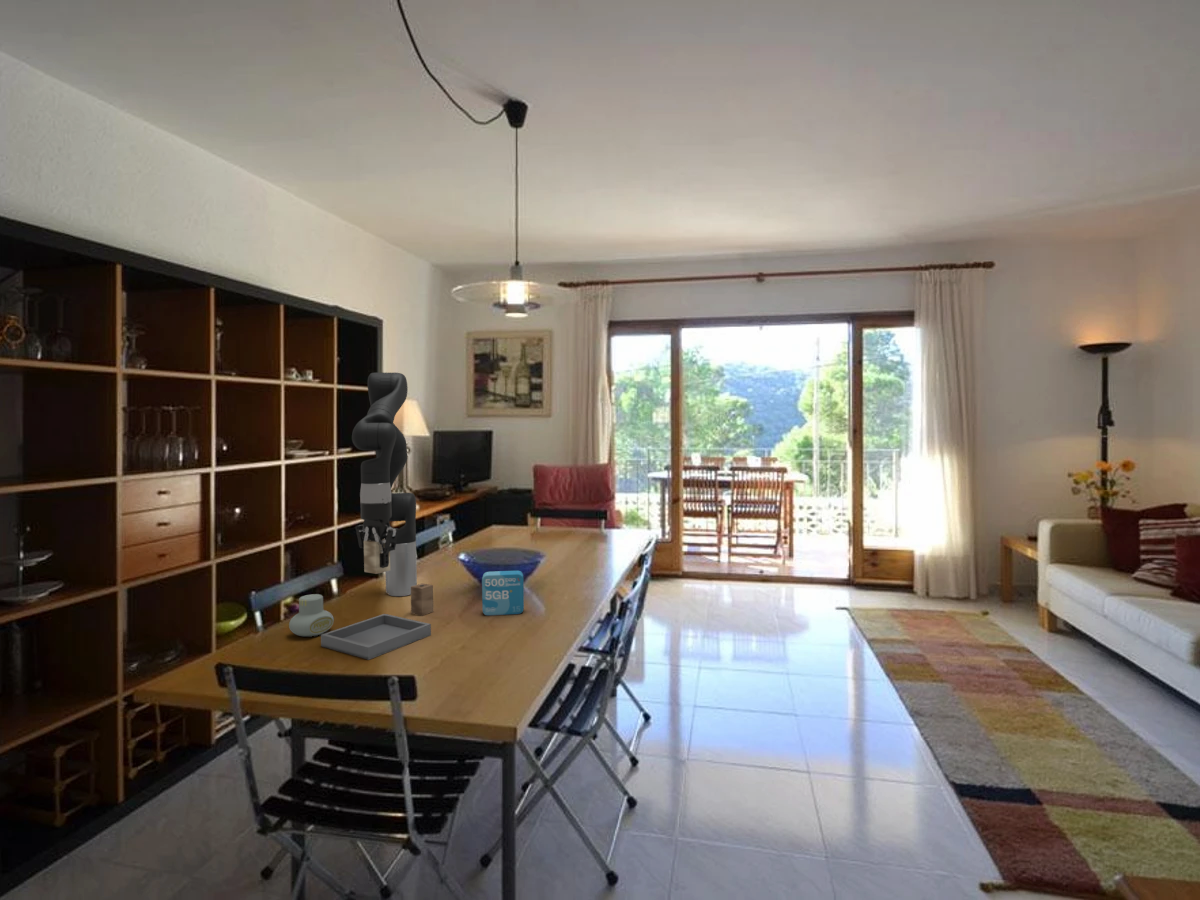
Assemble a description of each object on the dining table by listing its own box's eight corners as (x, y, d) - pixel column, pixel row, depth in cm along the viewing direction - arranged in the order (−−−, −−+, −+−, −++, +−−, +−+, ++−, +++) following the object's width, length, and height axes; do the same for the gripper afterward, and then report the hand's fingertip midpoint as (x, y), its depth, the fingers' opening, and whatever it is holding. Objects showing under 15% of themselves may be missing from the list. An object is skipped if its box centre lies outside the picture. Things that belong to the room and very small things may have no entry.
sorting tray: (321, 646, 159) (320, 634, 159) (384, 624, 176) (384, 613, 176) (368, 659, 150) (368, 647, 150) (430, 635, 167) (430, 624, 167)
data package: (482, 616, 183) (481, 575, 183) (483, 611, 188) (482, 571, 187) (523, 614, 185) (523, 573, 185) (523, 609, 190) (523, 570, 189)
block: (364, 571, 162) (363, 540, 161) (378, 568, 166) (377, 537, 165) (376, 573, 159) (375, 541, 159) (390, 570, 163) (389, 539, 163)
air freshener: (302, 642, 162) (301, 604, 162) (283, 636, 167) (282, 599, 166) (339, 630, 172) (338, 594, 171) (320, 625, 176) (319, 590, 176)
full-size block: (411, 613, 186) (410, 586, 186) (422, 609, 190) (422, 582, 190) (422, 615, 184) (421, 588, 184) (433, 611, 188) (432, 584, 187)
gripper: (345, 500, 162) (346, 566, 163) (383, 503, 155) (384, 572, 156) (369, 497, 169) (370, 560, 169) (406, 500, 161) (408, 566, 162)
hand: (377, 565), depth 162 cm, fingers closed on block, 4 cm apart
